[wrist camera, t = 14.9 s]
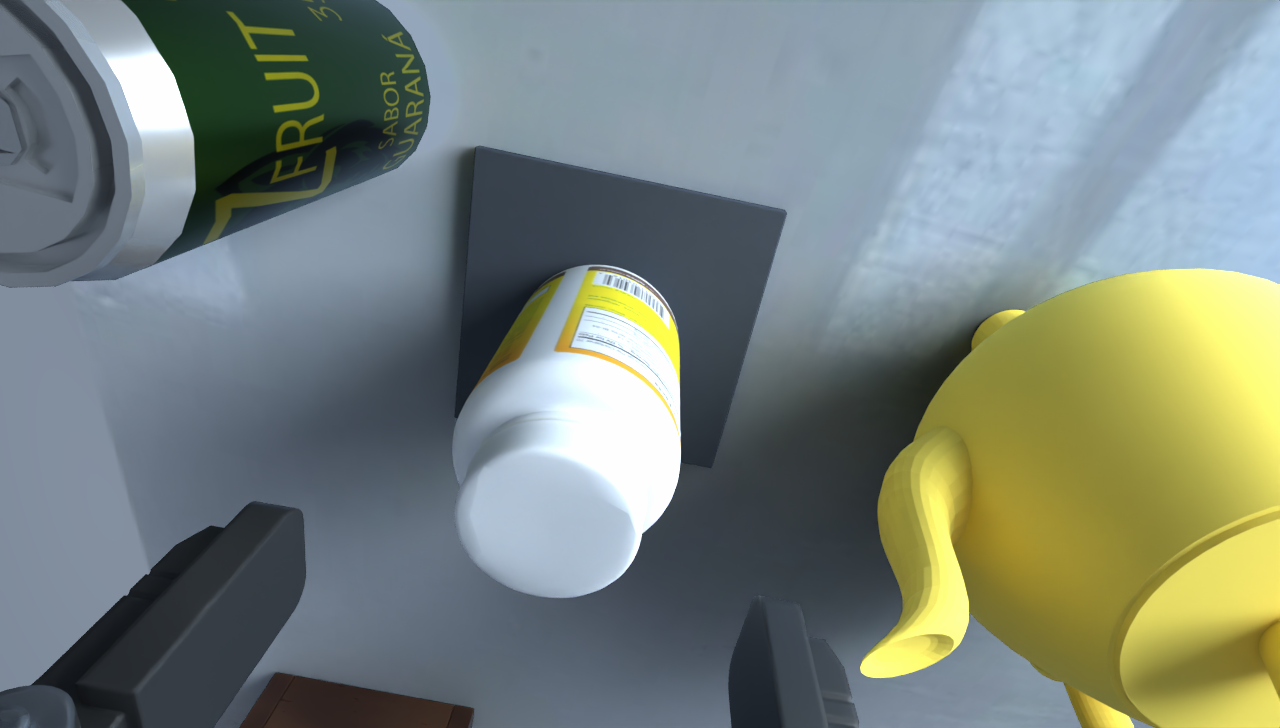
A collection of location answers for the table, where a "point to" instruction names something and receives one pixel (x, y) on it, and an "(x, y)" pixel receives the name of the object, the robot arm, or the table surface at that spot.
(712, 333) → the coaster
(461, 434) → the supplement bottle
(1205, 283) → the teapot
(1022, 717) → the table surface
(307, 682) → the bottle rack
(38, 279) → the beer can
